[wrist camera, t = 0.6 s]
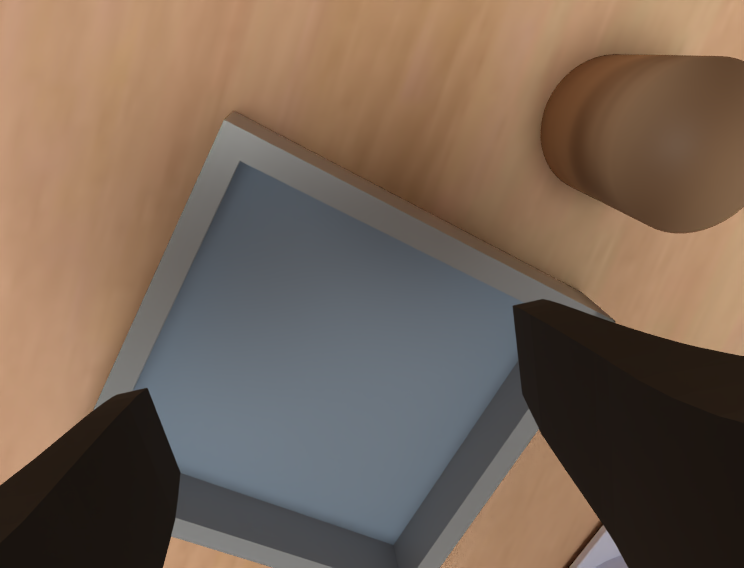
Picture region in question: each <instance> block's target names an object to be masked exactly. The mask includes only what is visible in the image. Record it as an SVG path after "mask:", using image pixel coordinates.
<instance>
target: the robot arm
mask: <svg viewBox="0 0 744 568" xmlns="http://www.w3.org/2000/svg"><path fill="white" fill-rule="evenodd" d="M512 307H513V316H514V325H515V334H516V343H517V352H518V361H519V370H520V380H521V389H522V395H523V397H524V399H525V401H526V403H527V405H528V407H529V410H530V412H531V414H532V416H533V418H534V420H535V422H536V424H537V426H538V428H539V430H540V432H541V434H542V435H543V437H544V438H545V440H546V441H547V443H548V444H549V446H550V447H551V449H552V450H553V452H554V453H555V455H556V456H557V458H558V459H559V461H560V462H561V464H562V465H563V467H564V468H565V470H566V471H567V472H568V474H569V475H570V477H571V478H572V480H573V481H574V483H575V484H576V486H577V487H578V488H579V490H580V491H581V493H582V494H583V496H584V497H585V499H586V500H587V502H588V503H589V505H590V506H591V507H592V509H593V510H594V512H595V513H596V515H597V516H598V518H599V519H600V521H601V522H602V523H603V526H602V527H601V528H600V529H599V531H598V532H597V533H596V534H595V536H594V537H593V538H592V539H591V541H590V542H589V543H588V544H587V546H586V547H585V548H584V549H583V551H582V552H581V553H580V555H579V556H578V557H577V558H576V560H575V561H574V562H573V563H572V565H571V566H570V567H569V568H744V356H739V355H733V354H729V353H724V352H719V351H714V350H709V349H705V348H700V347H695V346H691V345H687V344H683V343H679V342H675V341H672V340H668V339H665V338H661V337H658V336H654V335H651V334H647V333H644V332H641V331H638V330H634V329H631V328H628V327H625V326H622V325H619V324H616V323H613V322H611V321H608V320H605V319H602V318H599V317H596V316H594V315H591V314H588V313H585V312H583V311H580V310H577V309H574V308H571V307H569V306H566V305H563V304H560V303H557V302H553V301H550V300H545V299H540V300H536V301H531V302H527V303H522V304H518V305H513V306H512ZM180 473H181V472H180V470H179V467H178V465H177V462H176V460H175V457H174V454H173V452H172V449H171V447H170V444H169V442H168V439H167V436H166V434H165V431H164V429H163V426H162V424H161V421H160V419H159V416H158V413H157V411H156V408H155V406H154V403H153V401H152V398H151V395H150V393H149V390H148V388H144V389H139V390H135V391H130V392H126V393H121V394H117V395H115V396H113V397H111V398H110V399H108V400H107V401H105V402H104V403H103V404H101V405H100V406H99V407H97V408H96V409H95V410H93V411H92V412H91V413H90V414H88V415H87V416H86V417H85V418H83V419H82V420H81V421H80V422H79V423H77V424H76V425H75V426H74V427H73V428H71V429H70V430H69V431H68V432H67V433H65V434H64V435H63V436H62V437H60V438H59V439H58V440H57V441H56V442H54V443H53V444H52V445H51V446H50V447H48V448H47V449H46V450H45V451H44V452H42V453H41V454H40V455H39V456H37V457H36V458H35V459H34V460H32V461H31V462H30V463H29V464H27V465H26V466H25V467H23V468H22V469H21V470H20V471H18V472H17V473H16V474H14V475H13V476H12V477H11V478H9V479H8V480H7V481H5V482H4V483H3V484H2V485H0V568H163V565H164V561H165V557H166V554H167V550H168V546H169V542H170V538H171V535H172V531H173V527H174V523H175V517H176V510H177V502H178V494H179V484H180Z"/></svg>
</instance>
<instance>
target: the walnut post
mask: <svg viewBox="0 0 744 568" xmlns="http://www.w3.org/2000/svg"><path fill="white" fill-rule="evenodd" d="M541 145H542V150H543V154H544V157H545V159H546V162H547V163H548V165H549V167H550V169H551V170H552V171H553V173H554V174H555V175H556V176H557V177H558V178H559V179H560V180H561V181H563V182H564V183H566V184H567V185H569V186H571V187H573V188H575V189H577V190H579V191H581V192H583V193H585V194H587V195H589V196H591V197H593V198H595V199H597V200H599V201H601V202H603V203H605V204H607V205H609V206H611V207H613V208H615V209H617V210H619V211H621V212H623V213H625V214H627V215H628V216H630V217H632V218H634V219H636V220H638V221H640V222H642V223H644V224H646V225H648V226H650V227H653V228H655V229H657V230H661V231H664V232H670V233H691V232H697V231H701V230H705V229H707V228H710V227H713V226H715V225H717V224H719V223H721V222H723V221H725V220H727V219H728V218H730V217H731V216H733V215H734V214H736V213H737V212H738V211H739V210H741V209H742V208H743V207H744V61H742V60H739V59H736V58H731V57H723V56H678V55H620V54H613V55H604V56H600V57H596V58H593V59H591V60H588V61H586V62H584V63H583V64H581V65H579V66H578V67H576V68H575V69H573V70H572V71H571V72H570V73H569V74H568V75H566V76H565V77H564V78H563V80H562V81H561V82H560V83H559V84H558V85H557V87H556V88H555V90H554V91H553V93H552V95H551V96H550V98H549V100H548V102H547V105H546V108H545V110H544V114H543V118H542V123H541Z"/></svg>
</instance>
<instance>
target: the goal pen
mask: <svg viewBox="0 0 744 568" xmlns="http://www.w3.org/2000/svg"><path fill="white" fill-rule="evenodd" d="M540 299H545V300H550V301H553V302H557V303H560V304H563V305H566V306H569V307H571V308H574V309H577V310H580V311H583V312H585V313H588V314H591V315H594V316H596V317H599V318H602V319H605V320H608V321H611V322H613V323H615V322H616V321H615V320H613V319H612V318H611V317H610V316H609V315H608V314H606V313H605V312H604V311H603V310H602V309H601V308H599V307H598V306H597V305H596V304H595V303H594V302H592V301H591V300H590V299H589V298H588V297H587V296H585V295H584V294H583V293H582V292H580V291H578V290H576V289H574V288H572V287H570V286H568V285H566V284H565V283H563V282H561V281H559V280H557V279H555V278H553V277H551V276H549V275H547V274H545V273H543V272H542V271H540V270H538V269H536V268H534V267H532V266H530V265H528V264H526V263H524V262H522V261H520V260H519V259H517V258H515V257H513V256H511V255H509V254H507V253H505V252H503V251H501V250H499V249H497V248H496V247H494V246H492V245H490V244H488V243H486V242H484V241H482V240H480V239H478V238H476V237H475V236H473V235H471V234H469V233H467V232H465V231H463V230H461V229H459V228H457V227H455V226H453V225H452V224H450V223H448V222H446V221H444V220H442V219H440V218H438V217H436V216H434V215H432V214H430V213H429V212H427V211H425V210H423V209H421V208H419V207H417V206H415V205H413V204H411V203H409V202H407V201H406V200H404V199H402V198H400V197H398V196H396V195H394V194H392V193H390V192H388V191H386V190H384V189H383V188H381V187H379V186H377V185H375V184H373V183H371V182H369V181H367V180H365V179H363V178H361V177H360V176H358V175H356V174H354V173H352V172H350V171H348V170H346V169H344V168H342V167H340V166H338V165H337V164H335V163H333V162H331V161H329V160H327V159H325V158H323V157H321V156H319V155H317V154H315V153H314V152H312V151H310V150H308V149H306V148H304V147H302V146H300V145H298V144H296V143H294V142H292V141H291V140H289V139H287V138H285V137H283V136H281V135H279V134H277V133H275V132H273V131H271V130H269V129H268V128H266V127H264V126H262V125H260V124H258V123H256V122H254V121H252V120H250V119H248V118H246V117H245V116H243V115H241V114H239V113H237V112H235V111H233V112H232V113H231V114H229V115H228V116H227V117H226V118H225V119H224V121H223V123H222V125H221V128H220V130H219V132H218V134H217V137H216V139H215V141H214V143H213V145H212V148H211V150H210V152H209V154H208V157H207V159H206V161H205V163H204V165H203V168H202V170H201V172H200V174H199V177H198V179H197V181H196V183H195V185H194V188H193V190H192V192H191V194H190V197H189V199H188V201H187V203H186V205H185V208H184V210H183V212H182V214H181V217H180V219H179V221H178V223H177V225H176V228H175V230H174V232H173V234H172V237H171V239H170V241H169V243H168V245H167V248H166V250H165V252H164V254H163V257H162V259H161V261H160V263H159V265H158V268H157V270H156V272H155V274H154V277H153V279H152V281H151V283H150V285H149V288H148V290H147V292H146V294H145V297H144V299H143V301H142V303H141V305H140V308H139V310H138V312H137V314H136V317H135V319H134V321H133V323H132V325H131V328H130V330H129V332H128V334H127V337H126V339H125V341H124V343H123V345H122V348H121V350H120V352H119V354H118V357H117V359H116V361H115V363H114V365H113V368H112V370H111V372H110V374H109V377H108V379H107V381H106V383H105V386H104V388H103V390H102V392H101V394H100V397H99V399H98V401H97V403H96V406H95V408H94V410H95V409H96V408H97V407H99V406H100V405H101V404H103V403H104V402H105V401H107V400H108V399H110V398H111V397H113V396H115V395H117V394H121V393H126V392H130V391H135V390H139V389H144V388H148V390H149V393H150V395H151V398H152V401H153V403H154V406H155V408H156V411H157V413H158V416H159V419H160V421H161V424H162V426H163V429H164V431H165V434H166V436H167V439H168V442H169V444H170V447H171V449H172V452H173V454H174V457H175V460H176V462H177V465H178V467H179V470H180V472H181V473H180V484H179V494H178V502H177V510H176V517H175V523H174V527H173V531H172V535H171V536H172V537H175V538H178V539H182V540H185V541H188V542H191V543H195V544H198V545H201V546H204V547H208V548H211V549H214V550H217V551H221V552H224V553H227V554H230V555H234V556H237V557H240V558H243V559H247V560H250V561H253V562H256V563H260V564H263V565H266V566H269V567H273V568H440V567H441V565H442V564H443V562H444V561H445V560H446V558H447V557H448V555H449V554H450V553H451V551H452V550H453V548H454V547H455V546H456V544H457V543H458V541H459V540H460V539H461V537H462V536H463V534H464V533H465V532H466V530H467V529H468V527H469V526H470V525H471V523H472V522H473V520H474V519H475V518H476V516H477V515H478V513H479V512H480V511H481V509H482V508H483V506H484V505H485V504H486V502H487V501H488V499H489V498H490V497H491V495H492V494H493V492H494V491H495V490H496V488H497V487H498V485H499V484H500V483H501V481H502V480H503V478H504V477H505V476H506V474H507V473H508V471H509V470H510V469H511V467H512V466H513V464H514V463H515V462H516V460H517V459H518V457H519V456H520V455H521V453H522V452H523V450H524V449H525V448H526V446H527V445H528V443H529V442H530V441H531V439H532V438H533V436H534V435H535V434H536V432H537V431H538V429H539V428H538V426H537V424H536V422H535V420H534V418H533V416H532V414H531V412H530V410H529V407H528V405H527V403H526V401H525V399H524V397H523V395H522V389H521V380H520V370H519V361H518V352H517V343H516V334H515V325H514V316H513V307H512V306H513V305H518V304H522V303H527V302H531V301H536V300H540Z"/></svg>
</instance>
